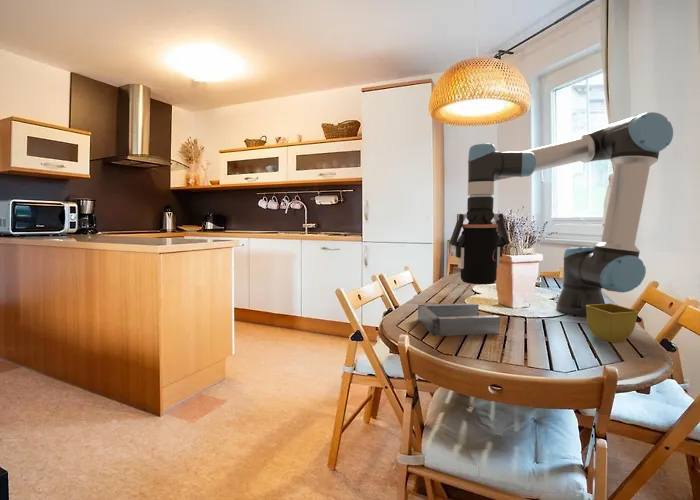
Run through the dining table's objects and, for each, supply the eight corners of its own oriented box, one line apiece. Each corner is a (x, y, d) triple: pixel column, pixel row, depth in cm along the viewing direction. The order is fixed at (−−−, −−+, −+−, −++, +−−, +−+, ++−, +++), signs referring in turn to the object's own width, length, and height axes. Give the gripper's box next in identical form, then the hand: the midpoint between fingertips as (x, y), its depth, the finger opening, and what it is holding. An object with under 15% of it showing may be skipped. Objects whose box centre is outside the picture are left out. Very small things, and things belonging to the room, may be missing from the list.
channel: (475, 317, 125) (476, 303, 124) (499, 333, 108) (499, 317, 107) (418, 319, 123) (418, 304, 123) (432, 336, 107) (433, 319, 106)
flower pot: (637, 343, 99) (639, 310, 98) (610, 346, 97) (612, 313, 96) (608, 333, 107) (610, 303, 106) (583, 335, 106) (584, 304, 105)
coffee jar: (499, 285, 109) (501, 224, 107) (462, 284, 111) (463, 224, 109) (493, 279, 119) (494, 223, 117) (458, 278, 121) (460, 223, 119)
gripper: (510, 196, 117) (508, 265, 119) (439, 197, 115) (438, 266, 117) (523, 195, 109) (520, 268, 111) (447, 196, 108) (446, 270, 110)
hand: (478, 267), depth 114 cm, fingers closed on coffee jar, 11 cm apart
